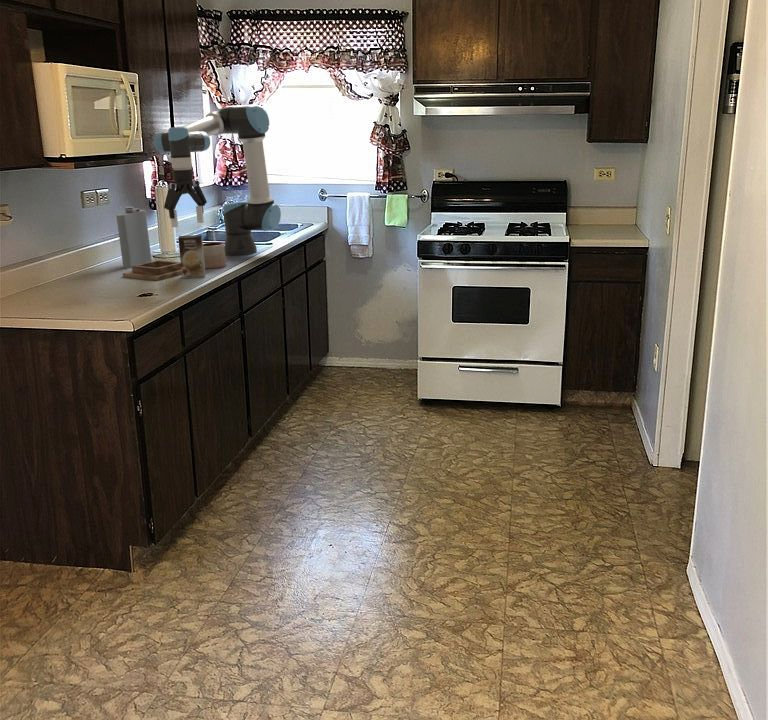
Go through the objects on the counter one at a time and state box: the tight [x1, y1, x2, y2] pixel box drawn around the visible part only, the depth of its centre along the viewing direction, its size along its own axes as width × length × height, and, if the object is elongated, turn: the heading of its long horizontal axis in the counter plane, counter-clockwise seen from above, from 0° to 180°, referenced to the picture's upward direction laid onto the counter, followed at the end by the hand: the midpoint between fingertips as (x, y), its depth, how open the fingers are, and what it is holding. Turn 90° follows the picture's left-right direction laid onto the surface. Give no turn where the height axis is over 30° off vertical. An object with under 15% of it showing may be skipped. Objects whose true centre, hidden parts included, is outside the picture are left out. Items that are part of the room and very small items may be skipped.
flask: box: [115, 206, 152, 269], centre depth 347 cm, size 17×5×25 cm, turn 161°
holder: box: [122, 259, 182, 282], centre depth 326 cm, size 20×20×4 cm
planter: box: [203, 241, 227, 270], centre depth 337 cm, size 11×11×10 cm
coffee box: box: [177, 234, 207, 279], centre depth 317 cm, size 9×6×16 cm
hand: (188, 224), depth 313 cm, fingers open, 13 cm apart
